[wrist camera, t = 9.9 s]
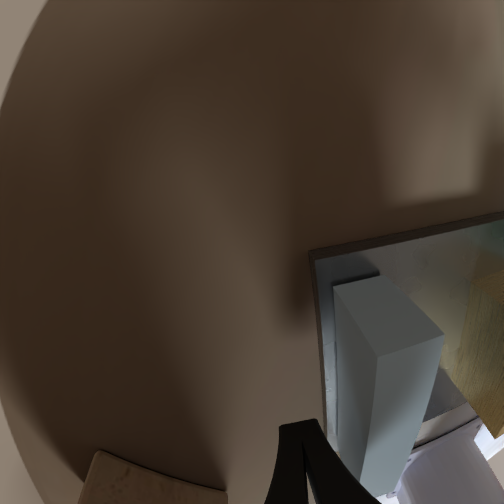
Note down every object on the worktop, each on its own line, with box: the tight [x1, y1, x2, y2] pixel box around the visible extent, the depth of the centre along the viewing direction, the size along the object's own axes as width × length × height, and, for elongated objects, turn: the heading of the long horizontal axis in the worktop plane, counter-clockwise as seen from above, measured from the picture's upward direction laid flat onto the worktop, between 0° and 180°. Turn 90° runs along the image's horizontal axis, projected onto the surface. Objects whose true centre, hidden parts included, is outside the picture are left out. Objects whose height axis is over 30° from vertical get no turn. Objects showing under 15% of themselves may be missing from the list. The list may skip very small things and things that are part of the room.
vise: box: [308, 211, 504, 452], centre depth 10 cm, size 12×18×5 cm, turn 100°
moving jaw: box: [333, 275, 445, 497], centre depth 10 cm, size 10×2×4 cm, turn 11°
